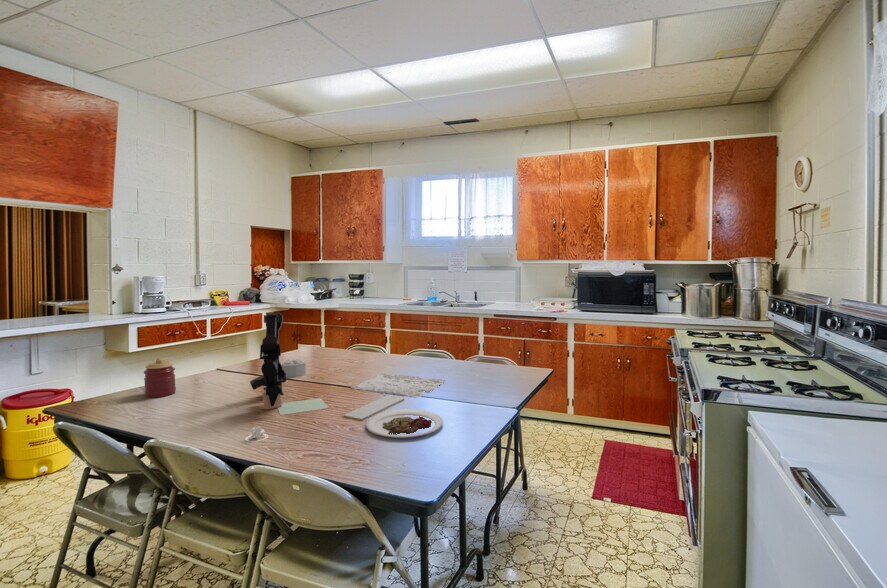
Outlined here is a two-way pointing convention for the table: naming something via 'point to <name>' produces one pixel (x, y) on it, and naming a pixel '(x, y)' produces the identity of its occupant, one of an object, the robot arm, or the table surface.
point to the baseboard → (373, 408)
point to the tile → (267, 402)
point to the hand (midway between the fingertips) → (272, 405)
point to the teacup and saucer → (256, 434)
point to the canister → (159, 379)
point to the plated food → (402, 423)
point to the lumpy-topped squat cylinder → (294, 368)
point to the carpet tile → (399, 385)
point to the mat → (302, 406)
